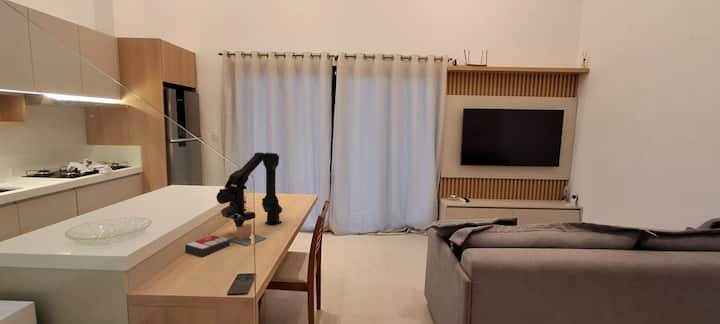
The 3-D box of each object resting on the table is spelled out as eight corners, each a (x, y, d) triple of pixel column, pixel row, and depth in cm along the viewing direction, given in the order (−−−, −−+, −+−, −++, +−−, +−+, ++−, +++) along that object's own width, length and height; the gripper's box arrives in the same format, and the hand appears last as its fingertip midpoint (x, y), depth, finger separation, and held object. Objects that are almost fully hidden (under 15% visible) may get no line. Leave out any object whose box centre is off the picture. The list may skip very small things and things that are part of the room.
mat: (248, 233, 172) (248, 232, 172) (266, 238, 165) (266, 237, 165) (228, 240, 162) (228, 239, 162) (246, 246, 155) (246, 245, 155)
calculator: (230, 238, 156) (202, 248, 142) (230, 247, 156) (202, 258, 143) (213, 234, 160) (184, 243, 147) (213, 243, 161) (184, 252, 147)
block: (248, 235, 168) (248, 223, 167) (251, 235, 167) (251, 224, 166) (237, 239, 162) (236, 227, 162) (239, 240, 161) (239, 228, 161)
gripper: (211, 199, 163) (212, 230, 165) (236, 206, 153) (237, 238, 155) (231, 195, 172) (232, 224, 174) (255, 201, 162) (256, 232, 164)
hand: (238, 230), depth 167 cm, fingers closed
